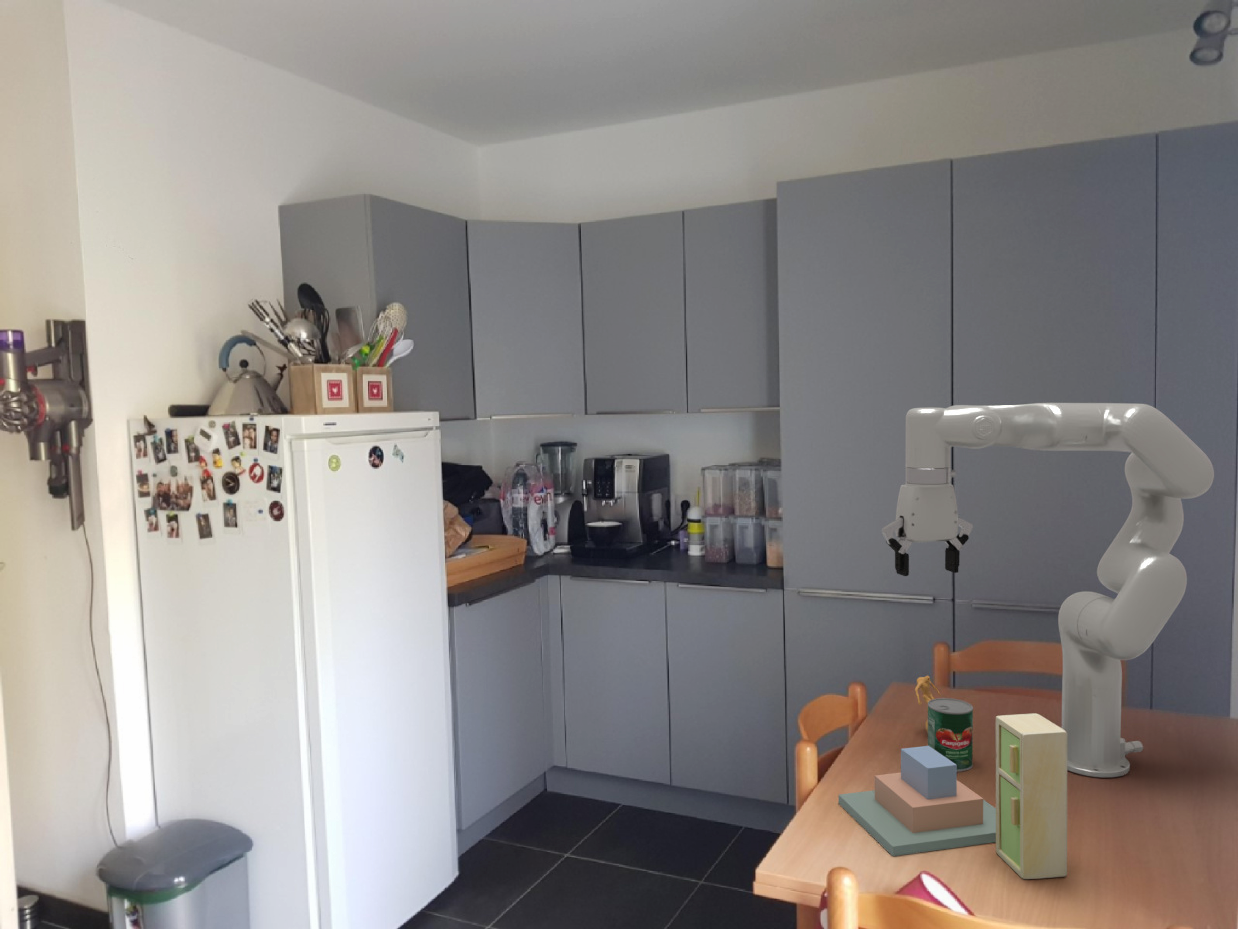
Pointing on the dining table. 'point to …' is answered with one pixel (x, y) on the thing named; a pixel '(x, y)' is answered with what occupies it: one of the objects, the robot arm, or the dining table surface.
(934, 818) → the block on teal plate
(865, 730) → the dining table surface
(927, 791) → the slate brick
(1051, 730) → the toy refrigerator
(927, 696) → the figurine
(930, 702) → the canned tomato
